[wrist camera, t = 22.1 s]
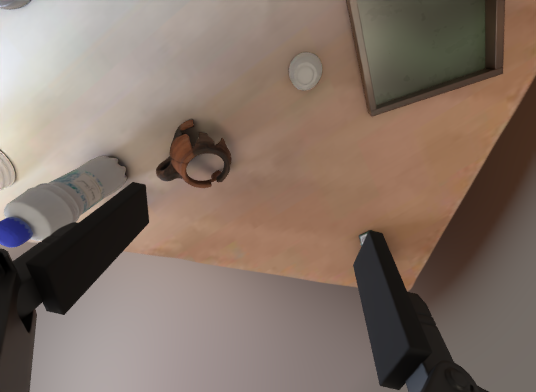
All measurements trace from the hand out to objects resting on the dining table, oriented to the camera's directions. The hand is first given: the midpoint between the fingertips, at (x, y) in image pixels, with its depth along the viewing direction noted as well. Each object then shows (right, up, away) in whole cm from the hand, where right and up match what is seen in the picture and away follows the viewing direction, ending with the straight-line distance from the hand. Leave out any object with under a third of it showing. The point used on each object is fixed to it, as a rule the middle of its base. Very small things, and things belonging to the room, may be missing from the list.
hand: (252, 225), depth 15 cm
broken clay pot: (-10, +9, +27) cm, 31 cm away
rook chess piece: (+6, +19, +20) cm, 28 cm away
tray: (+18, +24, +15) cm, 34 cm away
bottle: (-27, +7, +31) cm, 42 cm away
